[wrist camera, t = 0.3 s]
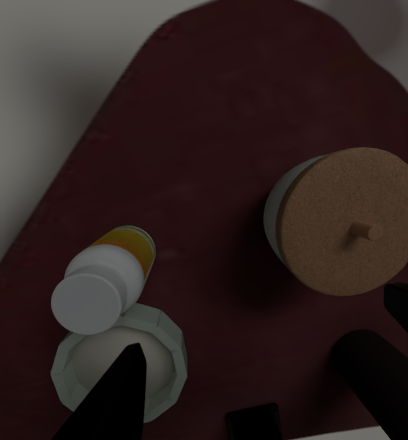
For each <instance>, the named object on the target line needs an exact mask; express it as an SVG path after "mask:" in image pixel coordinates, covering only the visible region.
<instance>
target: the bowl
mask: <svg viewBox="0 0 408 440" xmlns="http://www.w3.org/2000/svg"><path fill="white" fill-rule="evenodd" d="M133 343H140V345H141V347H142V350H143V353H144V355H145V358H146V362H147V375H146V393H145V411H144V423H146V422H151V420H152V421H153V420H154V419H155V418H157V417H158V416H159V415H160V414H162V413H163V412H164V411H166V410H167V409H168V408H170V407H171V406H172V405H174V404H175V403H176V402H177V400H178V397H179V395H180V392H181V390H182V388H183V385H184V383H185V380H186V378H187V353H186V348H185V343H184V339H183V334H182V331H181V329H180V328H179V327H178V326H177V325H176V324H175V323H174V322H173V321H172V320H171V319H170V318H169V317H168V316H167V315H166V314H165V313H164V312H163V311H162V310H161V311H160V309H156V308H153V307H149V306H146V305H142V304H139V303H135V304H134V305H133V306H132V307H131V308H130V309H128V310H127V311H125V312H124V313H122V314H121V315H120V317H119V318H118V320H117V321H116V323H115V324H114V325H113V326H112V327H111V328H109V329H108V330H106V331H104V332H102V333H98V334H94V335H82V334H77V333H74V332H71V331H69V333H68V334H67V335H66V337H65V338H64V339H63V341H62V342H61V343H60V345H59V347H58V350H57V354H56V357H55V360H54V364H53V367H52V371H51V377H52V380H53V382H54V385H55V388H56V390H57V393H58V396H59V398H60V401H62V404H64V405H65V406H66V407H68V408H69V409H70V410H72V411H73V412H74V411H75V409H76V408H77V407H78V406H79V404H80V403H81V402H82V401H83V399H84V398H85V397H86V396H87V394H88V393H89V392H90V391H91V389H92V388H93V387H94V386H95V384H96V383H97V382H98V381H99V379H100V378H101V377H102V376H103V374H104V373H105V372H106V371H107V369H108V368H109V367H110V366H111V364H112V363H113V362H114V361H115V359H116V358H117V357H118V356H119V355H120V353H121V352H122V351H123V350H124V348H125V347H126V346H127V345H129V344H133Z"/></svg>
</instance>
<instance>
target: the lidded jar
mask: <svg viewBox="0 0 408 440" xmlns="http://www.w3.org/2000/svg"><path fill="white" fill-rule="evenodd" d="M263 217H264V229H265V233H266V236H267V239H268V241H269V244H270V246H271V247H272V249H273V251H274V252H275V254H276V255H277V257H278V258H279V259H280V260H281V261H282V263H283V264H284V265H285V266H286V267H287V268H288V269H289V270H290V272H291V273H292V274H293V275H294V276H295V277H296V278H297V279H298V280H299V281H301V282H302V283H303V284H304V285H305V286H307V287H309V288H311V289H312V290H314V291H317V292H320V293H322V294H327V295H332V296H350V295H357V294H361V293H365V292H368V291H370V290H372V289H375V288H377V287H379V286H380V285H382V284H384V283H386V282H387V281H388V280H390V279H391V278H392V277H393V276H395V275H396V274H397V273H398V272H399V271H400V270H401V269H402V268H403V267H404V266H405V265H406V263H407V262H408V165H407V164H406V163H405V162H404V161H402V160H401V159H400V158H398V157H397V156H395V155H393V154H391V153H389V152H387V151H384V150H380V149H376V148H367V147H362V148H351V149H345V150H341V151H337V152H333V153H331V154H327V155H323V156H319V157H315V158H313V159H310V160H308V161H306V162H303V163H301V164H299V165H298V166H296V167H294V168H293V169H291V170H290V171H288V172H287V173H286V174H285V175H283V176H282V177H281V178H280V179H279V181H278V182H277V183H276V184H275V185H274V187H273V189H272V190H271V192H270V194H269V196H268V198H267V201H266V205H265V208H264V216H263Z"/></svg>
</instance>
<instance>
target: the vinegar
mask: <svg viewBox="0 0 408 440" xmlns="http://www.w3.org/2000/svg"><path fill="white" fill-rule="evenodd" d="M333 363H334V366H335V368H336V370H337V371H338V372H339V374H340V375H341V376H342V377H343V379H344V380H345V381H346V383H347V384H348V385H349V386H350V388H351V389H352V390H353V392H354V393H355V394H356V395H357V397H358V398H359V399H360V401H361V402H362V403H363V404H364V406H365V407H366V408H367V410H368V411H369V412H370V413H371V415H372V416H373V417H374V419H375V420H376V421H377V422H378V424H379V425H380V426H381V428H382V429H383V430H384V431H385V433H386V434H387V435H388V437H389V438H390V439H391V440H408V358H407V357H406V356H405V355H404V354H402V353H401V352H400V351H399V350H398V349H396V348H395V347H394V346H393V345H391V344H390V343H389V342H388V341H387V340H385V339H384V338H383V337H382V336H380V335H379V334H377V333H376V332H374V331H370V330H357V331H354V332H351V333H349V334H347V335H346V336H344V337H343V338H342V339H341V340H340V341H339V342H338V344H337V345H336V347H335V350H334V352H333Z"/></svg>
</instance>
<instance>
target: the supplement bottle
mask: <svg viewBox="0 0 408 440" xmlns="http://www.w3.org/2000/svg"><path fill="white" fill-rule="evenodd" d="M155 254H156V251H155V245H154V242H153V240H152V239H151V237H150V236H149V235H148V234H147V233H146V232H145V231H143V230H142V229H140V228H138V227H134V226H121V227H117V228H115V229H113V230H111V231H110V232H108V233H107V234H105V235H104V236H103V237H101V238H100V239H99V240H97V241H96V242H94V243H93V244H92V245H90V246H89V247H87V248H86V249H85V250H83V251H82V252H80V253H79V254H78V255H77V256H76V257H75V258H74V259H73V260H72V261H71V262H70V264H69V265H68V267H67V269H66V272H65V276H64V279H63V280H62V281H61V282H60V283H59V284H58V285H57V287H56V288H55V290H54V292H53V295H52V299H51V307H52V311H53V314H54V316H55V318H56V319H57V321H58V322H59V323H60V324H61V325H62V326H63V327H65V328H66V329H68V330H69V331H71V332H74V333H77V334H82V335H94V334H98V333H102V332H104V331H106V330H108V329H109V328H111V327H112V326H113V325H114V324H115V323H116V321H117V320H118V318H119V317H120V315H121V314H122V313H124V312H125V311H127V310H128V309H130V308H131V307H132V306H133V305H134V304H135V303H136V301H137V300H138V298H139V296H140V295H141V293H142V290H143V288H144V285H145V283H146V280H147V278H148V275H149V273H150V270H151V268H152V265H153V262H154V259H155Z"/></svg>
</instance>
